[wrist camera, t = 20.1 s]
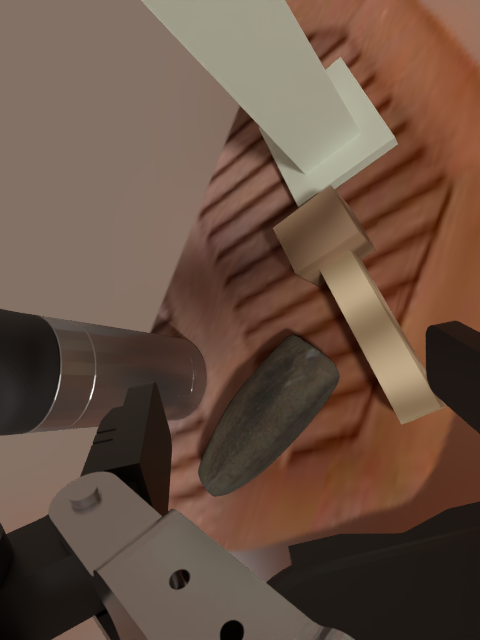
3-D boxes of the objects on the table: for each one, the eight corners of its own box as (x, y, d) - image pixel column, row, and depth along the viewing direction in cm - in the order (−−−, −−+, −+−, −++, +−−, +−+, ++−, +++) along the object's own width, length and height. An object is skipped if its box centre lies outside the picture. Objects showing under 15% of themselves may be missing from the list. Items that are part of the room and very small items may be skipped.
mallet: (466, 398, 30) (459, 399, 26) (392, 429, 33) (375, 434, 29) (350, 207, 37) (330, 184, 33) (297, 244, 40) (272, 228, 36)
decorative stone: (301, 328, 39) (281, 322, 35) (353, 372, 35) (336, 370, 32) (204, 457, 43) (178, 463, 39) (243, 507, 39) (218, 519, 36)
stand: (397, 144, 36) (85, -548, 9) (303, 211, 40) (-94, -136, 14) (344, 65, 40) (22, -572, 13) (263, 133, 44) (-101, -248, 18)
